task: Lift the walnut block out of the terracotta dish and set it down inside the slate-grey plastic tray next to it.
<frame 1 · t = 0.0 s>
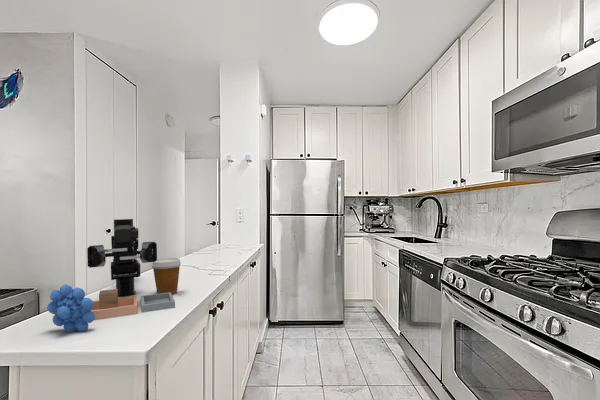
hand: (123, 257, 99), 17 cm above the counter, tool horizontal, fingers open, 9 cm apart
dish: (109, 314, 102), on the counter
disposable coffee cup: (167, 295, 122), on the counter
tray: (157, 306, 108), on the counter
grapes: (69, 335, 86), on the counter
block: (109, 312, 102), point 1 cm above the counter, touching dish
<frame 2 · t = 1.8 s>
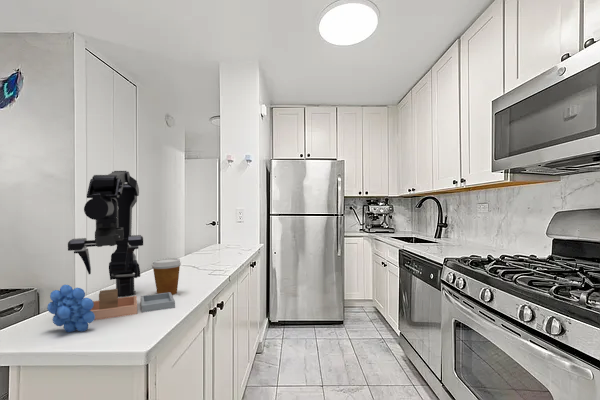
hand: (108, 272, 102), 12 cm above the counter, tool pointing down, fingers open, 9 cm apart
nothing on the counter moved.
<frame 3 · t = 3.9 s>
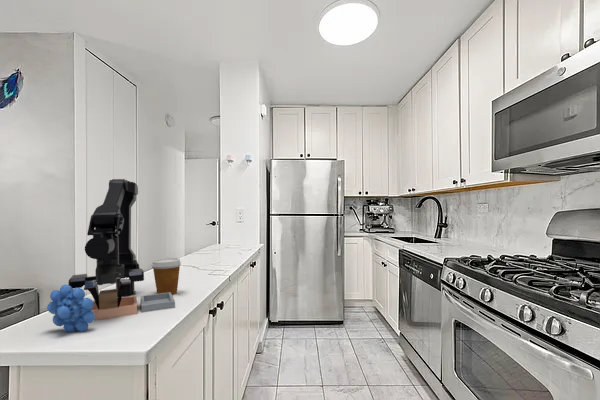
hand: (108, 308, 102), 2 cm above the counter, tool pointing down, fingers closed on block, 4 cm apart
block: (109, 312, 102), point 1 cm above the counter, touching dish, gripper
everything else where it was.
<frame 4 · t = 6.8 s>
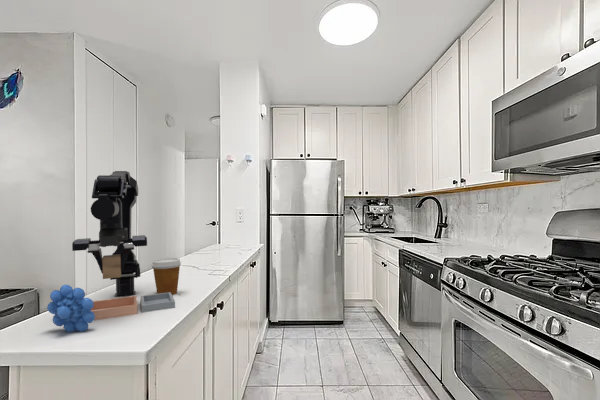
hand: (112, 272, 102), 12 cm above the counter, tool pointing down, fingers closed on block, 4 cm apart
block: (112, 276, 102), point 11 cm above the counter, touching gripper
everything else where it was.
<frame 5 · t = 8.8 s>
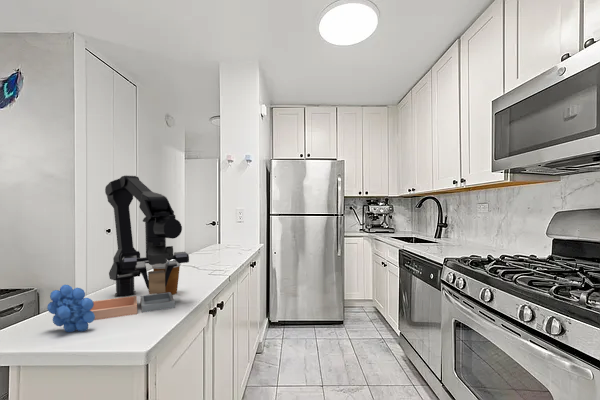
hand: (156, 287, 108), 6 cm above the counter, tool pointing down, fingers closed on block, 4 cm apart
block: (156, 291, 108), point 5 cm above the counter, touching gripper
everything else where it was.
when the fingers open (4 cm above the counter, at t = 10.0 s): block drops 2 cm, resting on tray.
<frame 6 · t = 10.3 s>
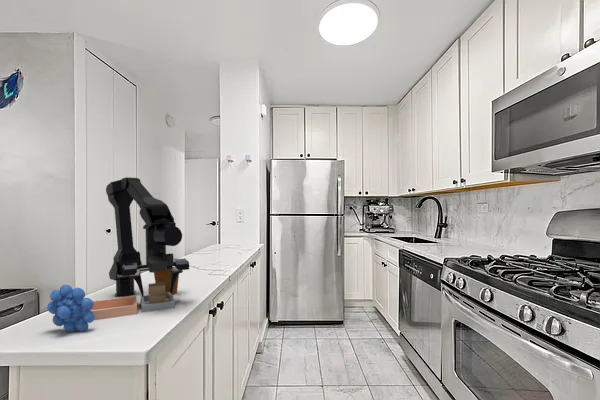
hand: (157, 294, 108), 4 cm above the counter, tool pointing down, fingers open, 8 cm apart
block: (157, 304, 108), point 1 cm above the counter, touching tray
everything else where it was.
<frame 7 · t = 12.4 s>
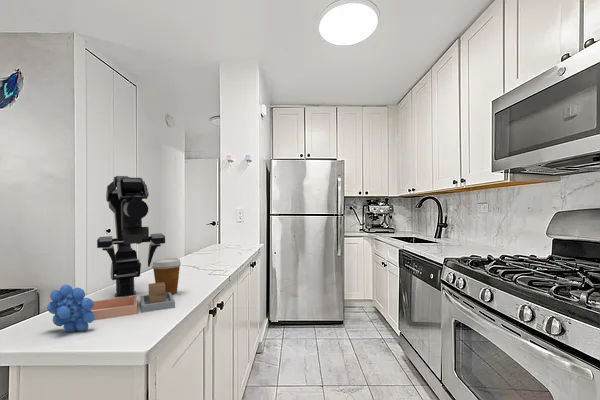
hand: (132, 268, 110), 12 cm above the counter, tool pointing down, fingers open, 9 cm apart
nothing on the counter moved.
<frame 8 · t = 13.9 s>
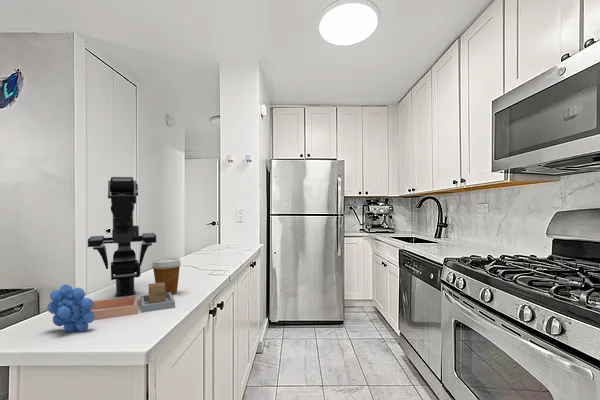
hand: (124, 267, 110), 12 cm above the counter, tool pointing down, fingers open, 9 cm apart
nothing on the counter moved.
at the end: block 0.0 cm off-centre on the tray, point 0.8 cm above the tray's base; block touching tray; the gripper is holding nothing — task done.
